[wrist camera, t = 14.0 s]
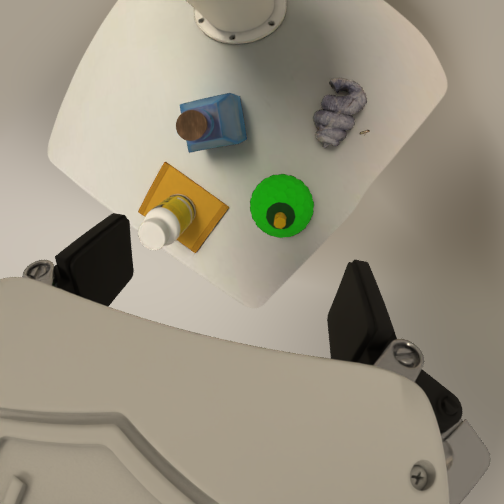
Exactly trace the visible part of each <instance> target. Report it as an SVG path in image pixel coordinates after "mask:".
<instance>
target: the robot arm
mask: <svg viewBox="0 0 504 504" xmlns="http://www.w3.org/2000/svg"><path fill="white" fill-rule="evenodd" d="M186 1H187V2H188V3H189V4H190V5H191V6H192V7H194V17H195V20H196V23H197V25H198V26H199V28H200V29H201V30H202V31H203V32H204V33H205V34H206V35H208V36H209V37H211V38H212V39H215V40H217V41H220V42H224V43H230V44H243V43H249V42H253V41H256V40H259V39H262V38H264V37H265V36H267V35H269V34H270V33H272V32H273V31H274V30H276V29H277V27H278V26H279V25H280V24H281V22H282V21H283V19H284V17H285V14H286V0H186ZM203 21H204V22H203ZM202 22H203V23H202ZM271 24H274V26H270V25H271ZM232 38H235V39H234V40H232ZM55 259H56V263H57V265H55V266H54V264H53V263H52V262H51V261H48V260H39V261H36V262H34V263H32V264H30V265H29V266H27V268H26V269H25V270H24V272H23V276H22V277H9V278H3V279H0V504H460V503H461V502H462V501H463V500H464V498H465V497H466V496H467V495H468V494H469V492H470V491H471V490H472V489H473V488H474V486H475V485H476V484H477V482H478V481H479V480H480V478H481V477H482V476H483V475H484V473H485V472H486V470H487V469H488V467H489V465H490V453H489V451H488V449H487V447H486V446H485V445H484V443H483V442H482V440H481V439H480V438H479V436H478V435H477V433H476V432H475V430H474V429H473V428H472V426H471V425H470V424H469V422H468V421H467V420H466V419H465V420H464V421H462V419H461V416H462V407H461V403H460V402H459V400H458V398H457V397H456V396H455V395H454V394H452V393H451V392H450V391H449V390H447V389H446V388H445V387H444V386H442V385H441V384H440V383H439V382H437V381H436V380H435V379H433V378H432V377H431V376H430V375H428V374H427V373H426V372H425V371H423V370H422V367H423V364H424V356H423V354H422V352H421V350H420V349H419V348H418V347H417V346H416V345H415V344H414V343H412V342H410V341H408V340H405V339H397V338H396V335H395V332H394V329H393V326H392V323H391V320H390V317H389V314H388V312H387V309H386V306H385V303H384V301H383V298H382V296H381V293H380V291H379V288H378V285H377V283H376V280H375V278H374V276H373V273H372V271H371V268H370V266H369V264H368V262H364V261H359V260H354V261H353V262H352V263H351V262H349V263H348V265H347V267H346V270H345V273H344V275H343V278H342V281H341V284H340V286H339V288H338V291H337V294H336V296H335V298H334V301H333V304H332V306H331V308H330V311H329V314H328V319H327V321H328V331H329V342H330V353H331V359H329V358H323V357H315V356H309V355H301V354H296V353H290V352H284V351H278V350H272V349H266V348H262V347H256V346H251V345H247V344H242V343H237V342H232V341H228V340H223V339H219V338H215V337H211V336H206V335H202V334H198V333H194V332H190V331H186V330H183V329H179V328H175V327H172V326H168V325H165V324H161V323H158V322H154V321H151V320H147V319H144V318H141V317H138V316H135V315H131V314H128V313H125V312H122V311H119V310H116V309H113V308H110V307H108V306H109V305H110V304H111V303H112V301H113V300H114V299H115V298H116V296H117V295H118V294H119V293H120V292H121V290H122V289H123V288H124V287H125V286H126V284H127V283H128V282H129V281H130V280H131V278H132V276H133V261H132V250H131V238H130V223H129V220H128V219H127V218H126V216H125V215H121V214H115V213H113V214H111V215H110V216H108V217H107V218H105V219H104V220H103V221H101V222H100V223H98V224H97V225H96V226H94V227H93V228H91V229H90V230H89V231H87V232H86V233H85V234H83V235H82V236H81V237H79V238H78V239H77V240H75V241H74V242H73V243H71V244H70V245H69V246H68V247H66V248H65V249H64V250H63V251H61V252H60V253H59V254H58V255H56V256H55Z"/></svg>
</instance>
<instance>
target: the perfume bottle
mask: <svg viewBox="0 0 504 504" xmlns="http://www.w3.org/2000/svg"><path fill="white" fill-rule="evenodd" d="M180 110H181V115H180V116H179V117H178V119H177V122H176V130H177V133H178V134H179V136H180V137H181V138H183V139H184V140H186V141H187V146H188V151H189V153H190V152H195V151H200V150H205V149H210V148H216V147H222V146H227V145H234V144H239V143H241V142H243V141H245V140H247V136H246V130H245V124H244V118H243V112H242V106H241V100H240V96H237V95H234V94H231V93H227V94H222V95H218V96H213V97H208V98H204V99H200V100H196V101H192V102H188V103H184V104H180Z"/></svg>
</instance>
